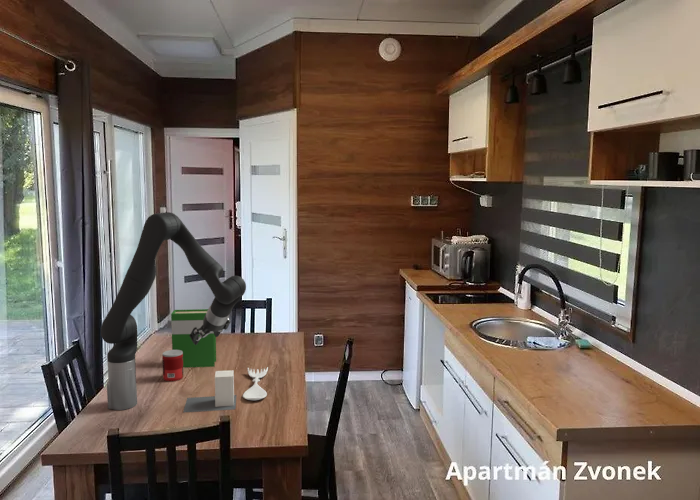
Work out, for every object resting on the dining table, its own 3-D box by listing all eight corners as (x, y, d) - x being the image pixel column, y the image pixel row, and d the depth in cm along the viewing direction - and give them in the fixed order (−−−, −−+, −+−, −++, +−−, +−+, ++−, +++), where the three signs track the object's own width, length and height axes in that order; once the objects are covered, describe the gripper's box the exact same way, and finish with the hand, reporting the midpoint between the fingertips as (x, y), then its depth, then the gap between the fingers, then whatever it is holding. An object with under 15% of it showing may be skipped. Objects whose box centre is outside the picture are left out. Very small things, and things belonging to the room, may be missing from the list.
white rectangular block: (215, 406, 196) (214, 377, 195) (216, 399, 202) (215, 371, 201) (233, 405, 197) (233, 376, 196) (234, 398, 203) (233, 370, 202)
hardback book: (216, 361, 246) (215, 309, 243) (214, 366, 239) (213, 313, 235) (175, 362, 243) (174, 309, 240) (172, 368, 236) (171, 313, 233)
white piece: (268, 373, 232) (268, 365, 231) (266, 404, 200) (266, 395, 200) (247, 374, 231) (247, 366, 230) (241, 405, 199) (241, 396, 199)
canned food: (187, 378, 224) (186, 352, 223) (169, 383, 219) (168, 356, 217) (177, 373, 230) (176, 348, 228) (159, 378, 224) (158, 352, 222)
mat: (183, 413, 191) (182, 404, 190) (187, 398, 204) (187, 390, 203) (235, 410, 194) (235, 401, 194) (236, 396, 207) (236, 387, 206)
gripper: (229, 301, 195) (217, 324, 206) (193, 313, 186) (182, 336, 197) (239, 318, 193) (226, 340, 204) (203, 331, 183) (192, 354, 194)
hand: (205, 338), depth 200 cm, fingers open, 8 cm apart
